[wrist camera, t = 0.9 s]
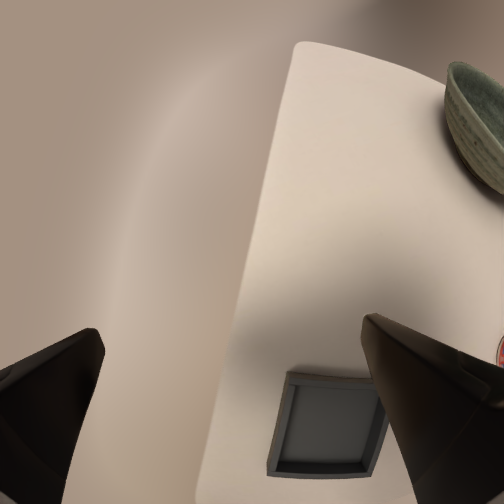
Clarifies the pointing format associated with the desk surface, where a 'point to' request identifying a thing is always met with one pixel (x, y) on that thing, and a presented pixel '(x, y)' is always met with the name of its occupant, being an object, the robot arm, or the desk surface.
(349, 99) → the desk surface
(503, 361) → the pill bottle
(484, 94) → the bowl
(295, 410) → the tray
